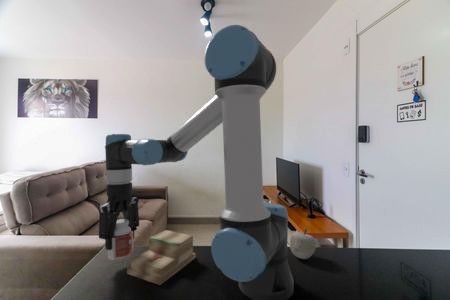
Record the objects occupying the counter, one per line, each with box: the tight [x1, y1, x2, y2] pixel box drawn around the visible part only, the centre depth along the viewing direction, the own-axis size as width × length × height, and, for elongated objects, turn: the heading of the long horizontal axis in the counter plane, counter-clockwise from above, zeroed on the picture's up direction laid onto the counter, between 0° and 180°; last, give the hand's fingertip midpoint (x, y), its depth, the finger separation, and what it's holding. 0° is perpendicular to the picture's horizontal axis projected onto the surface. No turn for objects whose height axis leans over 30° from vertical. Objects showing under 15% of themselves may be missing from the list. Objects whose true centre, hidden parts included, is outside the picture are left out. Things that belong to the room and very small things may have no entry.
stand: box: [126, 229, 197, 286], centre depth 77 cm, size 13×18×8 cm
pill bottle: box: [113, 218, 133, 260], centre depth 75 cm, size 6×6×11 cm
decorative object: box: [289, 228, 317, 260], centre depth 83 cm, size 9×9×10 cm
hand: (121, 254), depth 75 cm, fingers closed on pill bottle, 6 cm apart
